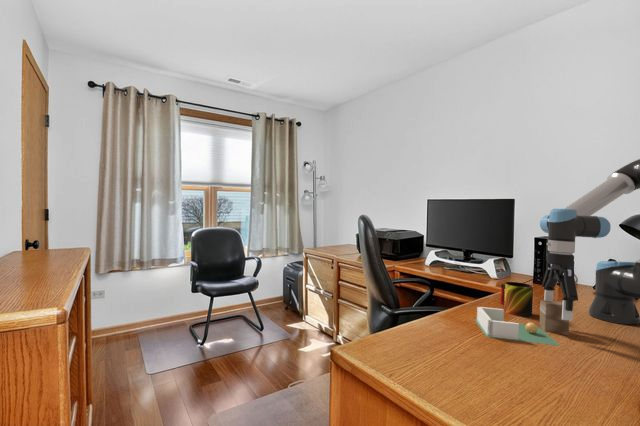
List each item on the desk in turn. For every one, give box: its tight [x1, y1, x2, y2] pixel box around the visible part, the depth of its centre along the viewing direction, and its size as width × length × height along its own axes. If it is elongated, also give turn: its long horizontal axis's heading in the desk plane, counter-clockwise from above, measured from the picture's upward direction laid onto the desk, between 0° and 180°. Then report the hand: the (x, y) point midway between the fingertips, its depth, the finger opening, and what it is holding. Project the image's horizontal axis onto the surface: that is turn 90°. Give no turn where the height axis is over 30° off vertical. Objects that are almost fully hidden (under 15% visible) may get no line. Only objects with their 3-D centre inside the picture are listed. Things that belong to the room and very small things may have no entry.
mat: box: [474, 318, 562, 347], centre depth 109 cm, size 21×18×1 cm
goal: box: [476, 306, 520, 341], centre depth 110 cm, size 9×16×5 cm, turn 165°
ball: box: [525, 321, 538, 333], centre depth 107 cm, size 4×4×4 cm
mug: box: [499, 281, 534, 318], centre depth 131 cm, size 10×14×12 cm
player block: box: [539, 299, 570, 336], centre depth 111 cm, size 7×5×10 cm, turn 76°
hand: (557, 313), depth 111 cm, fingers open, 13 cm apart
